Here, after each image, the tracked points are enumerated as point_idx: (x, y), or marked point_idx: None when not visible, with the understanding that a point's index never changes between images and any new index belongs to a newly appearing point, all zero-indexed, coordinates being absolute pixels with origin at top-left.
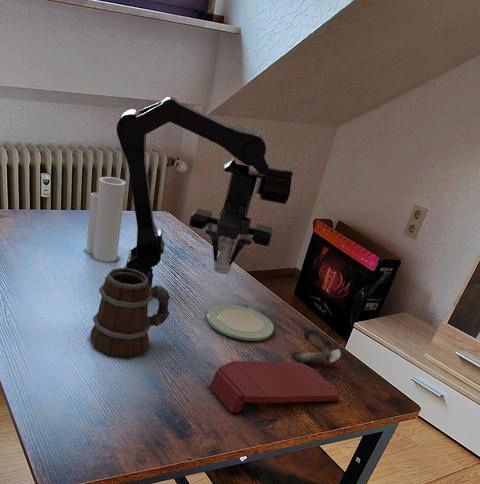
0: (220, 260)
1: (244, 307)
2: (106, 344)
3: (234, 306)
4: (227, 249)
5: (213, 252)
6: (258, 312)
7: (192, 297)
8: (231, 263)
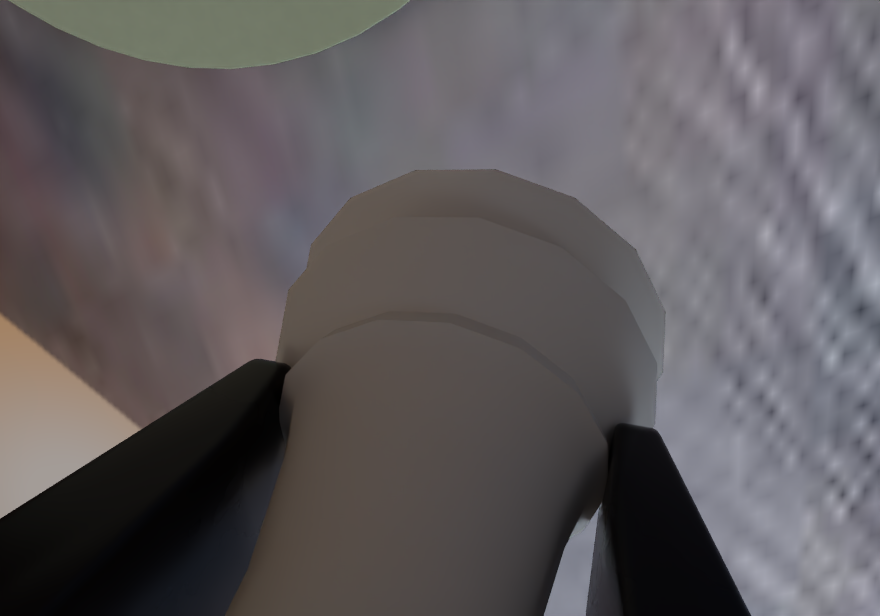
0: (489, 389)
1: (193, 55)
2: None
3: (292, 18)
4: None
5: (737, 595)
6: (34, 7)
7: (823, 117)
8: (231, 377)
